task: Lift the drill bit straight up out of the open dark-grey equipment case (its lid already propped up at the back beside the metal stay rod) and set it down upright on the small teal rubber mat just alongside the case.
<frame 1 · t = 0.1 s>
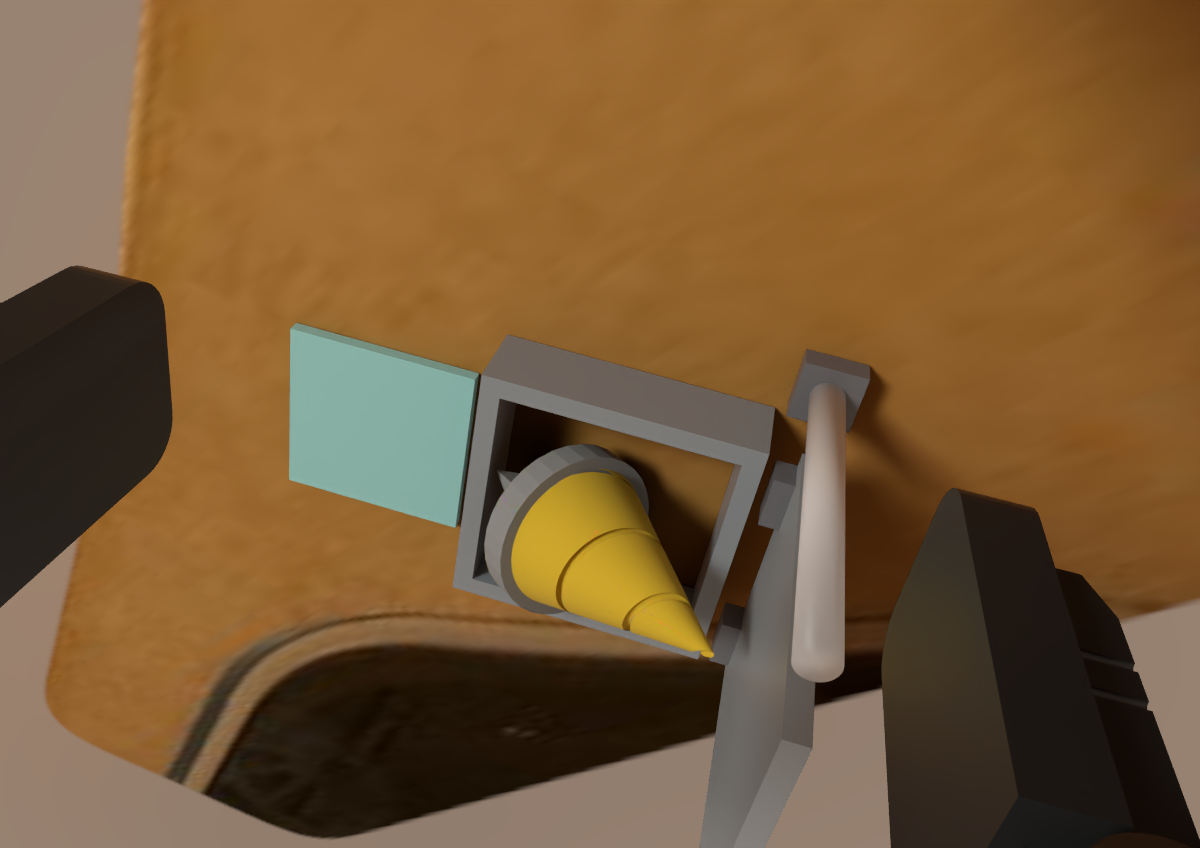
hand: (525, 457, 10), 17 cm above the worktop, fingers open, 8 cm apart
mat: (381, 426, 32), on the worktop
case: (613, 478, 31), on the worktop
drill bit: (615, 474, 32), resting in case
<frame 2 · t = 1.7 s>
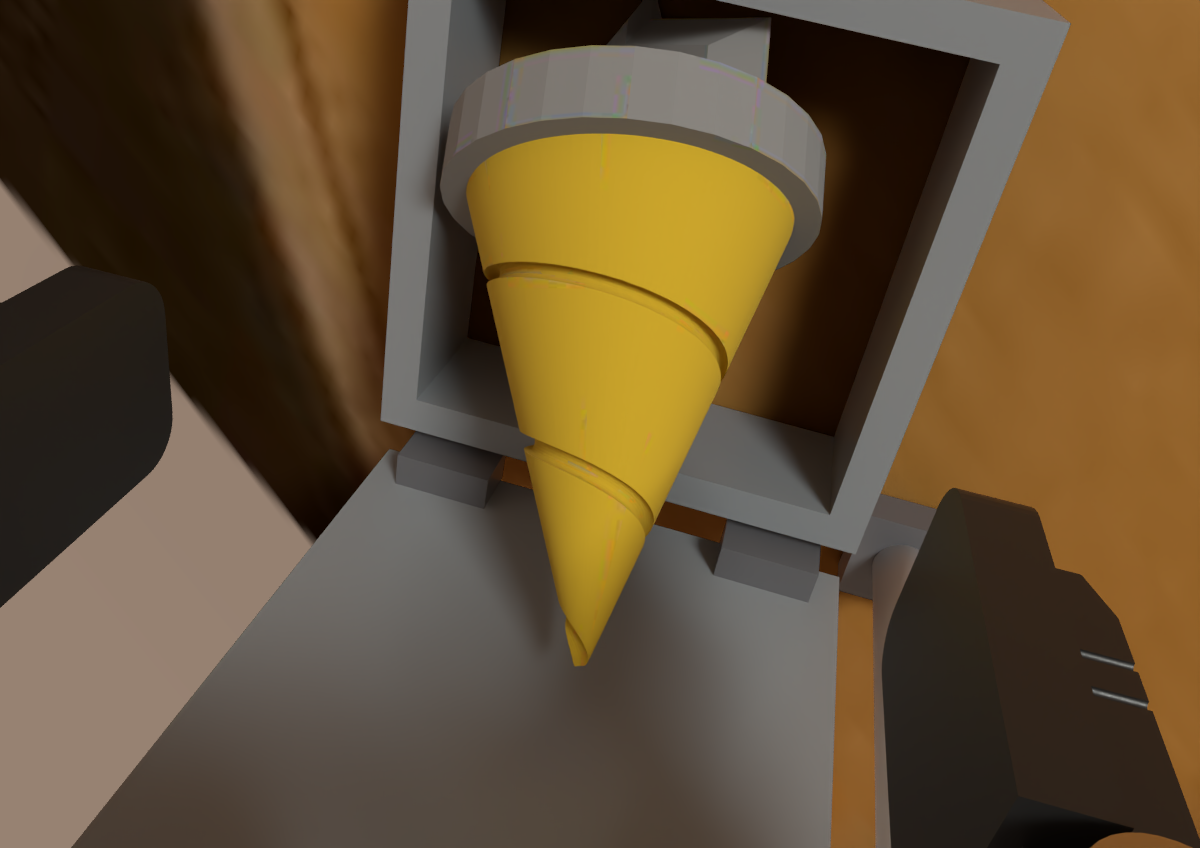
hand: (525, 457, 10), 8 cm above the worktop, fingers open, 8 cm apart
case: (688, 206, 16), on the worktop
drill bit: (691, 201, 17), resting in case
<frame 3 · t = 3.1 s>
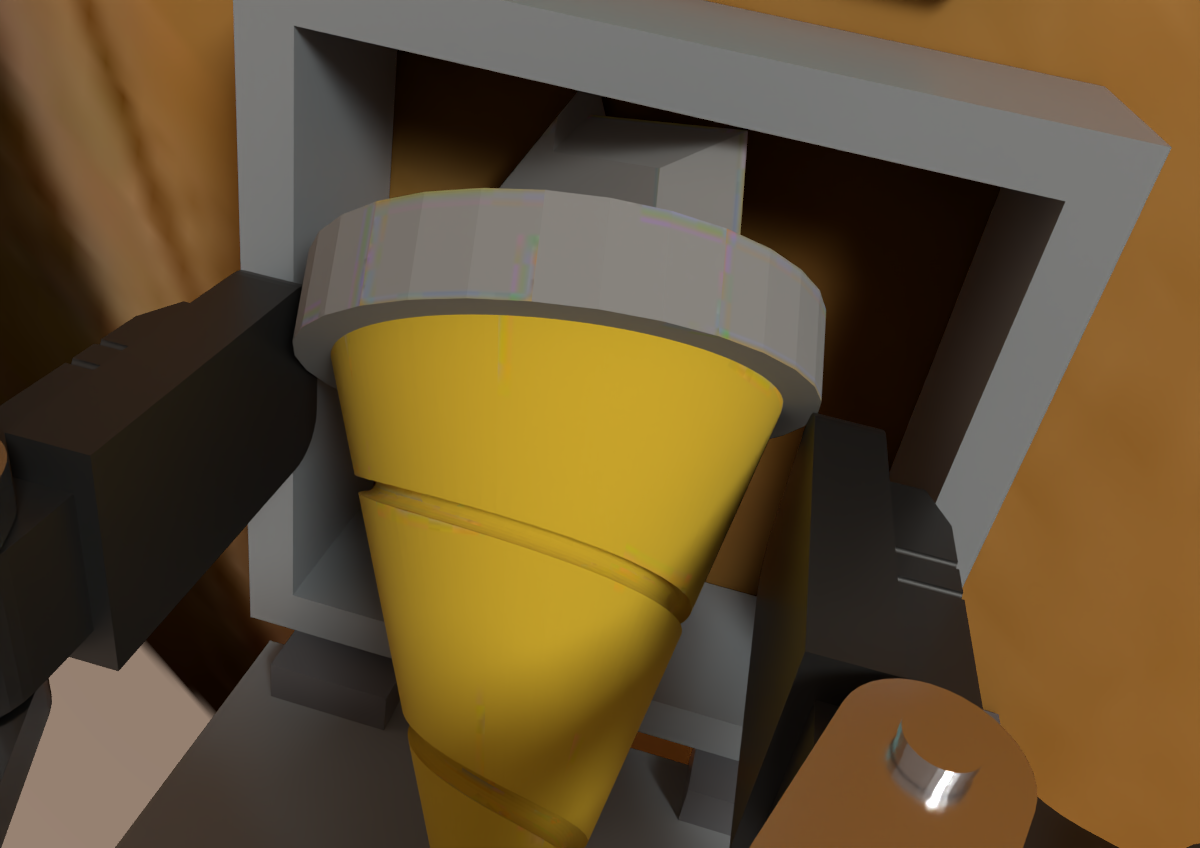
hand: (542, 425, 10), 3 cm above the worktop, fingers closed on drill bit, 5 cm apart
case: (641, 342, 13), on the worktop
drill bit: (650, 336, 13), resting in case, touching gripper
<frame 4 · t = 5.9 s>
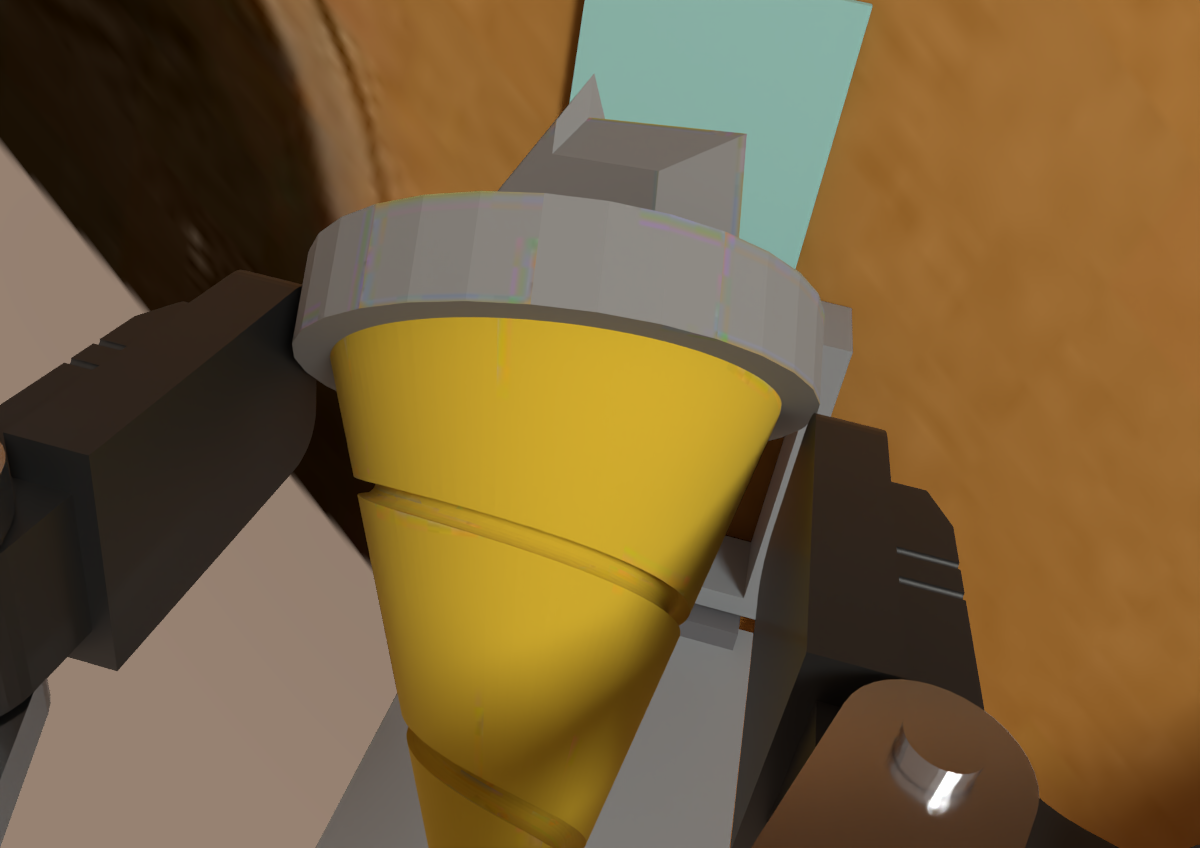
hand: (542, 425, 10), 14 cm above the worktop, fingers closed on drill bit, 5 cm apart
mat: (701, 115, 23), on the worktop
case: (656, 408, 27), on the worktop
drill bit: (650, 338, 13), point 11 cm above the worktop, touching gripper
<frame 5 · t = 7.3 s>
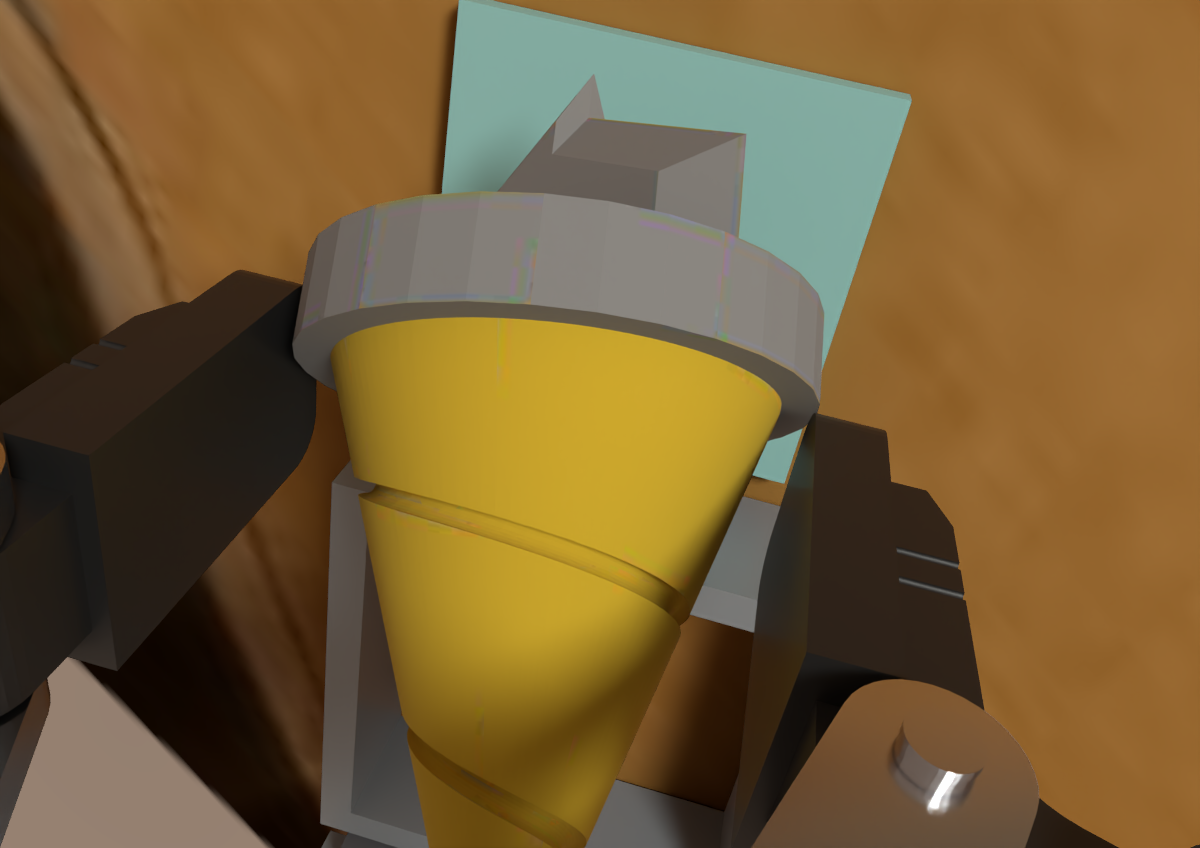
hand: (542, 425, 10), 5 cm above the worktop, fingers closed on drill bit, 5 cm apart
mat: (641, 253, 15), on the worktop
case: (587, 641, 19), on the worktop
drill bit: (650, 338, 13), point 2 cm above the worktop, touching gripper
when the fingers open (3 cm above the worktop, at t = 8.6 s): drill bit stays where it is, resting on mat.
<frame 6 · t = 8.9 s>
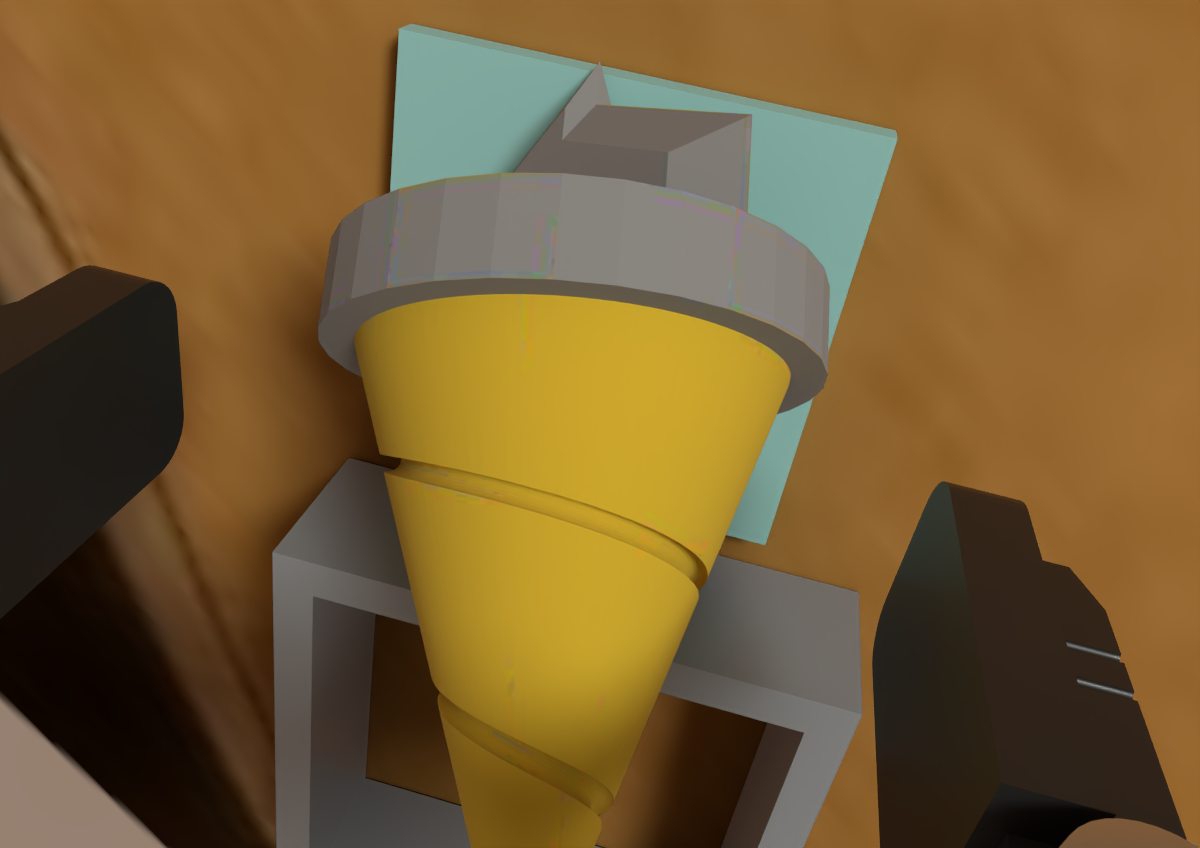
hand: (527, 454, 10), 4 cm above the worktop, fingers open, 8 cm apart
mat: (606, 300, 13), on the worktop
case: (560, 704, 17), on the worktop
drill bit: (657, 319, 13), resting on mat
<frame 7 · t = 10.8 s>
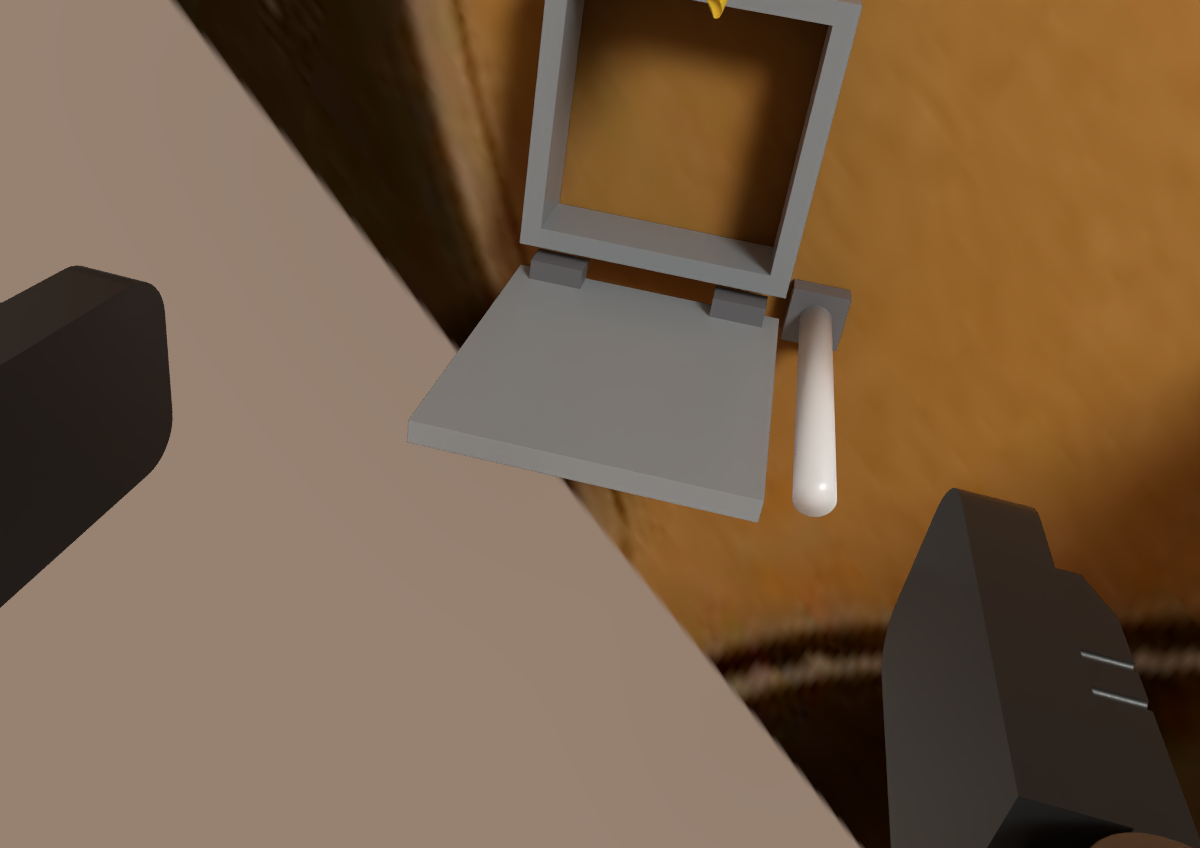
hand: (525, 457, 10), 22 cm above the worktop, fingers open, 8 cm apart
case: (685, 114, 30), on the worktop
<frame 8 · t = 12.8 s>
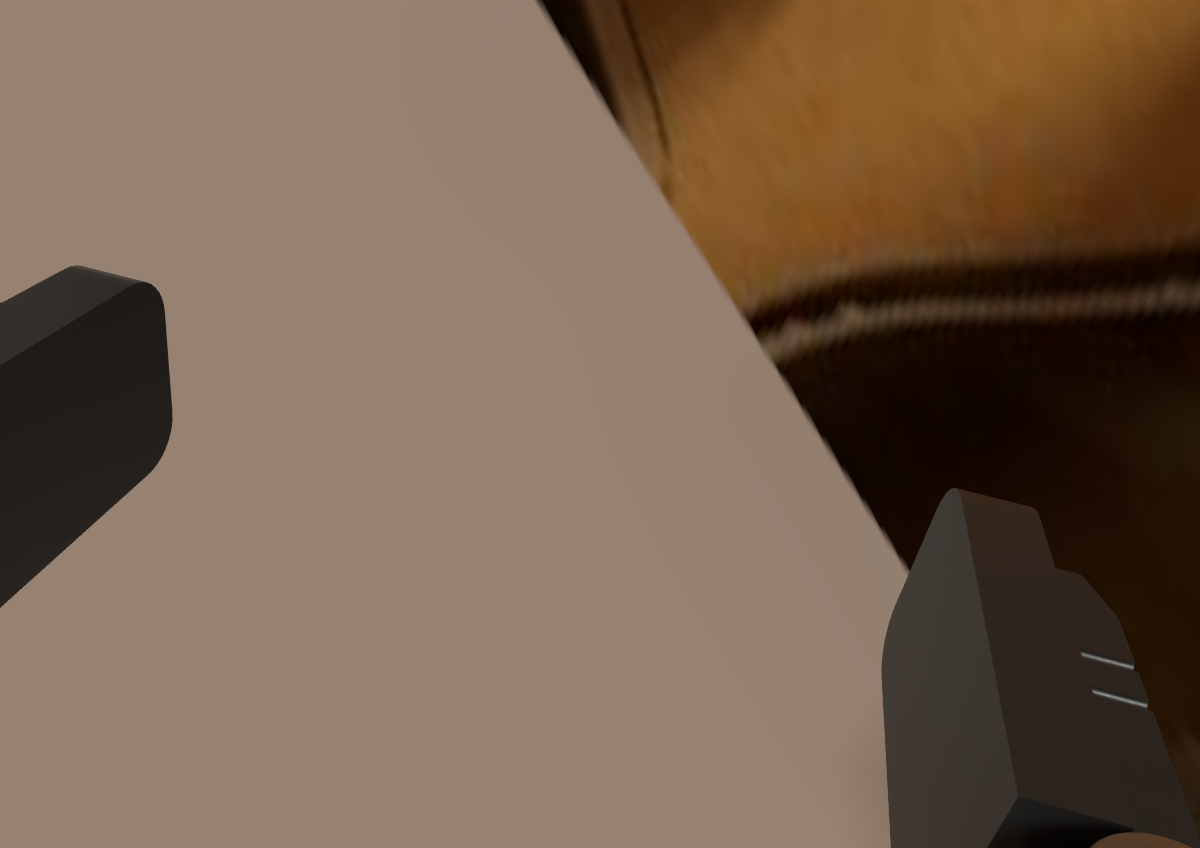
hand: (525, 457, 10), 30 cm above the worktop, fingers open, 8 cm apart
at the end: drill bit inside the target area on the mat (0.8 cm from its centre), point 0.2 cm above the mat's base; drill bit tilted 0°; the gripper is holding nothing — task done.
